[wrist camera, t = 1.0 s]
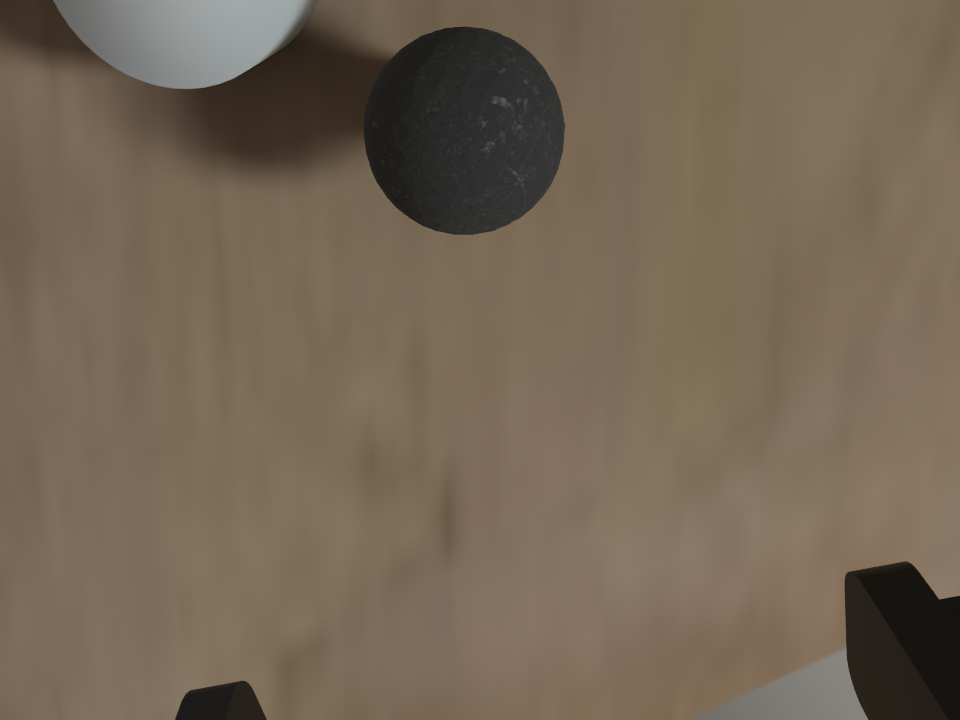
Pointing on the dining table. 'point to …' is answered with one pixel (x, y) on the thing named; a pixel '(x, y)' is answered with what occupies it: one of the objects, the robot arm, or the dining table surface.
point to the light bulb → (464, 130)
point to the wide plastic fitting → (185, 36)
